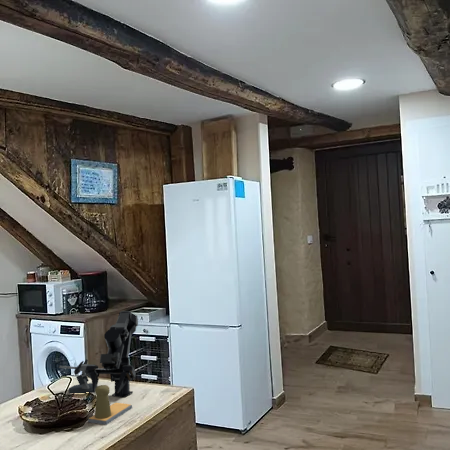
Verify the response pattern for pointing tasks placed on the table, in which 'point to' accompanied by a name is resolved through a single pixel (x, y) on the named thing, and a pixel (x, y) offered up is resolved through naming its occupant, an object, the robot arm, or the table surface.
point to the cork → (102, 402)
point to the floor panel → (112, 413)
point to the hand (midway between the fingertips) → (105, 392)
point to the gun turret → (80, 379)
